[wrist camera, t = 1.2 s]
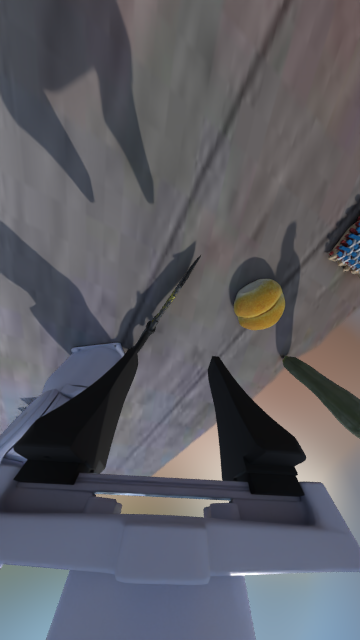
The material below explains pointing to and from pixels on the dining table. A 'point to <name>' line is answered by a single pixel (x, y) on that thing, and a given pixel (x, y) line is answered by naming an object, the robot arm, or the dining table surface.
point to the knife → (162, 311)
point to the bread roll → (259, 304)
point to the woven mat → (348, 249)
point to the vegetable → (328, 394)
